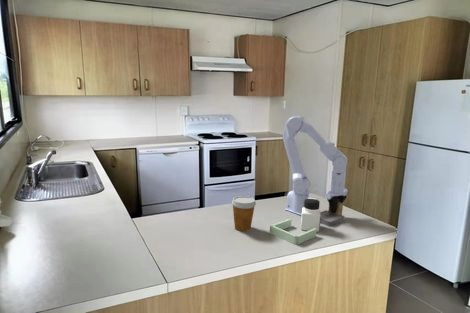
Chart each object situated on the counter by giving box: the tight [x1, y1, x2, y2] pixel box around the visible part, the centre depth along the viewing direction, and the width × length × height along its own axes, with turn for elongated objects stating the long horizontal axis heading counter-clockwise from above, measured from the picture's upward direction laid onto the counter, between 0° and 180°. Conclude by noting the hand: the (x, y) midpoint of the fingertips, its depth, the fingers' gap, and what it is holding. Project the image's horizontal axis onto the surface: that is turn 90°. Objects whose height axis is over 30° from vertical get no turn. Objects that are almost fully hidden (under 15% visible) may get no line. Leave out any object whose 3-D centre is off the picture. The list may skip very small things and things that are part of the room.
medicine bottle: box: [300, 197, 321, 233], centre depth 131 cm, size 7×7×12 cm
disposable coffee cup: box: [231, 195, 257, 232], centre depth 128 cm, size 10×10×12 cm
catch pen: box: [269, 218, 317, 246], centre depth 124 cm, size 13×12×3 cm
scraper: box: [320, 202, 345, 227], centre depth 140 cm, size 9×12×7 cm
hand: (335, 211), depth 143 cm, fingers closed on scraper, 3 cm apart
